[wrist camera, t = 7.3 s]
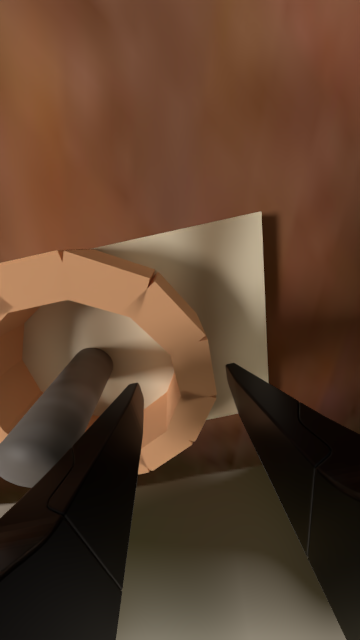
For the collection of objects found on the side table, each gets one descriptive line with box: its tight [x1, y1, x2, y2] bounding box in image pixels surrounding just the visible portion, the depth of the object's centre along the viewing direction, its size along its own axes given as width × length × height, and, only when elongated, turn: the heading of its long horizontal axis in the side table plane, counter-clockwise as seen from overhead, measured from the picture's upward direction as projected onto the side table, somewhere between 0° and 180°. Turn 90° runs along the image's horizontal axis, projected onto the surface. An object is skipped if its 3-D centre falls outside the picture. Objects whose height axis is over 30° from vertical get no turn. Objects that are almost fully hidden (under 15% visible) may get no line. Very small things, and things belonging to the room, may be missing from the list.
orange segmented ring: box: [0, 249, 217, 474], centre depth 11 cm, size 13×13×3 cm
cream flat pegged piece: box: [0, 212, 269, 488], centre depth 10 cm, size 19×13×8 cm
